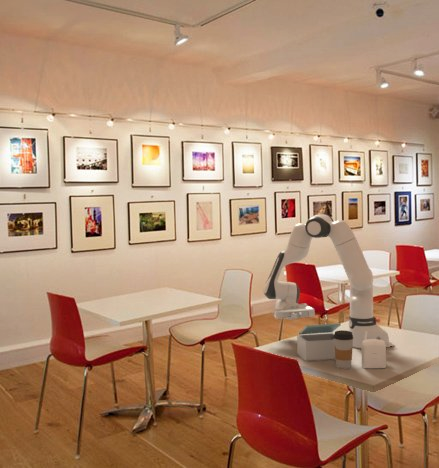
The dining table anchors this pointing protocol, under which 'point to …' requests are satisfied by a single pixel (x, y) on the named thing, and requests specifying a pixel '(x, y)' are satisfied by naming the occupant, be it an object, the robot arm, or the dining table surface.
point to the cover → (319, 328)
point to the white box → (316, 346)
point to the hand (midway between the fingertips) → (298, 316)
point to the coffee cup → (343, 348)
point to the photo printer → (373, 353)
